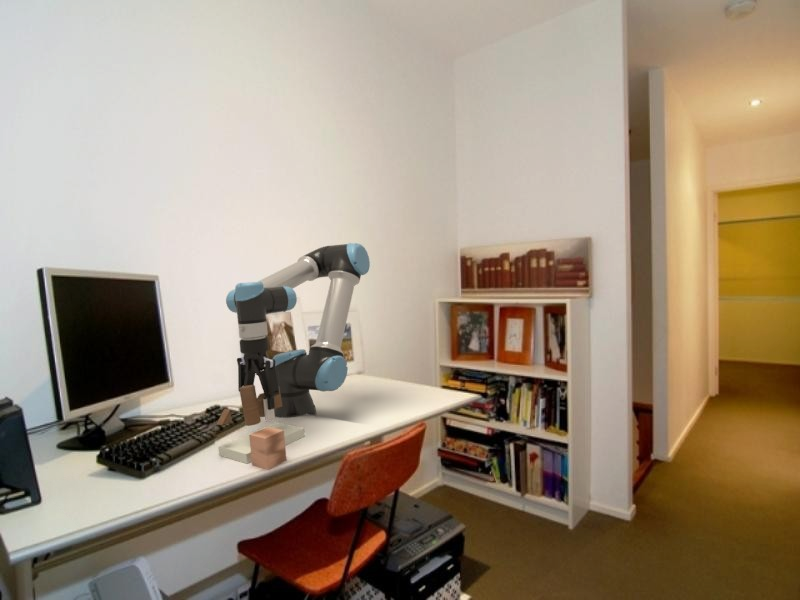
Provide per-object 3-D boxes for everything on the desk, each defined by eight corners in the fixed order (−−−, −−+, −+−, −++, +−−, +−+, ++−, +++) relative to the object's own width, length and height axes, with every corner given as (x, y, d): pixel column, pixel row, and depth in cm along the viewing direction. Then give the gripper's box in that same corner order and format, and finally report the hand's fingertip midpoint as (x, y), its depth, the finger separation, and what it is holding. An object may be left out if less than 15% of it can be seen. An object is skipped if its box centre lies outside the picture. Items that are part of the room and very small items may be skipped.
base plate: (277, 430, 136) (276, 422, 135) (304, 436, 129) (303, 427, 129) (219, 455, 119) (218, 446, 119) (247, 463, 112) (246, 454, 112)
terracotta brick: (271, 456, 116) (268, 426, 116) (286, 460, 113) (283, 430, 112) (252, 465, 111) (249, 434, 111) (267, 470, 108) (264, 438, 107)
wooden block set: (274, 411, 131) (268, 377, 132) (291, 412, 126) (285, 376, 126) (217, 431, 118) (210, 393, 118) (233, 432, 112) (227, 392, 112)
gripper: (219, 338, 124) (227, 417, 126) (266, 341, 113) (274, 428, 115) (242, 334, 131) (249, 410, 132) (288, 336, 119) (295, 419, 121)
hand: (260, 418), depth 123 cm, fingers closed on wooden block set, 7 cm apart
